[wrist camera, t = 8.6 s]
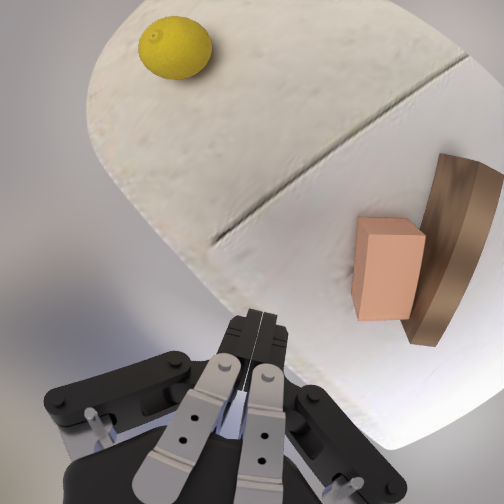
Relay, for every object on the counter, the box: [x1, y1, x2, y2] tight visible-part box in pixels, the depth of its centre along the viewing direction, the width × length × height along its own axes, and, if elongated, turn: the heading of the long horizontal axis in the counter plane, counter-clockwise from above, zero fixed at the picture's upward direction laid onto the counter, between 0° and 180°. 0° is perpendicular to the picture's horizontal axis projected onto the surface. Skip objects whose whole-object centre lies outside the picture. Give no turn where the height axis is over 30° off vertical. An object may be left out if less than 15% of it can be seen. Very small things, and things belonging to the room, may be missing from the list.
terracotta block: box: [351, 217, 426, 321], centre depth 24 cm, size 8×5×5 cm, turn 4°
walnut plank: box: [400, 154, 504, 347], centre depth 21 cm, size 16×3×7 cm, turn 171°
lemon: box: [138, 16, 212, 80], centre depth 18 cm, size 6×6×8 cm
